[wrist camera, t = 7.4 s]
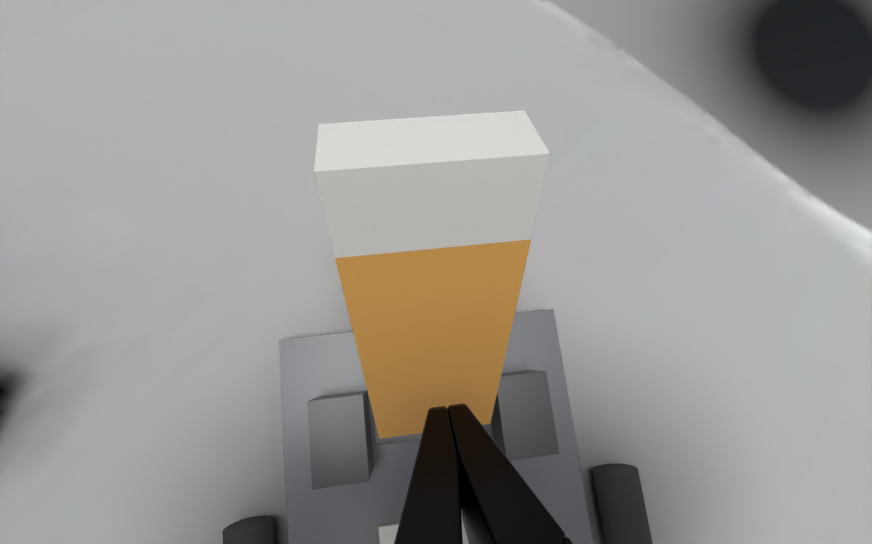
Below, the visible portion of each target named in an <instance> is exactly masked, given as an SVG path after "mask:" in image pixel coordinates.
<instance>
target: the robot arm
mask: <svg viewBox="0 0 872 544" xmlns="http://www.w3.org/2000/svg"><path fill="white" fill-rule="evenodd" d="M461 516H462V519H461ZM462 520H463V523H464V527H465V531H466V535H467V538H468V542H469V544H573V542H572V541H571V540H570V538H569V537H566V538H565V536H566V534H565V532H564V531H563V530H562V528H561V527H560V526H559V524H558V523H557V522H556V520H555V519H554V518H553V517H552V515H551V514H550V513H549V511H548V510H547V509H546V507H545V506H544V505H543V504H542V502H541V501H540V500H539V498H538V497H537V496H536V494H535V493H534V492H533V491H532V489H531V488H530V487H529V485H528V484H527V483H526V481H525V480H524V479H523V478H522V476H521V475H520V474H519V472H518V471H517V470H516V468H515V467H514V466H513V465H512V463H511V462H510V461H509V459H508V458H507V457H506V455H505V454H504V453H503V452H502V450H501V449H500V448H499V446H498V445H497V444H496V442H495V441H494V440H493V439H492V437H491V436H490V435H489V433H488V432H487V431H486V429H485V428H484V427H483V425H482V424H481V423H480V422H479V420H478V419H477V418H476V416H475V415H474V414H473V412H472V411H471V410H470V409H469V407H468V406H467V405H466V404H463V403H462V404H454V405H449V406H448V408H447V407H446V406H439V407H431V408H430V409H429V410H428V413H427V416H426V420H425V424H424V428H423V432H422V436H421V440H420V444H419V448H418V452H417V456H416V460H415V463H414V467H413V471H412V475H411V479H410V483H409V487H408V491H407V495H406V499H405V503H404V506H403V510H402V514H401V518H400V522H399V526H398V530H397V534H396V538H395V542H394V544H463V539H462Z"/></svg>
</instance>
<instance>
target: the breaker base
mask: <svg viewBox="0 0 872 544" xmlns="http://www.w3.org/2000/svg"><path fill="white" fill-rule="evenodd" d="M279 345H280V367H281V390H282V412H283V434H284V457H285V479H286V502H287V524H288V544H394V542H395V538H396V534H397V530H398V526H399V522H400V518H401V514H402V510H403V506H404V503H405V499H406V495H407V491H408V487H409V483H410V479H411V475H412V471H413V467H414V463H415V460H416V456H417V452H418V448H419V444H420V440H421V439H420V440H412V441H405V442H398V443H391V444H383V445H377V444H376V437H375V419H374V415H373V411H372V407H371V403H370V399H369V395H368V391H367V387H366V383H365V378H364V374H363V370H362V366H361V362H360V358H359V354H358V350H357V346H356V342H355V337H354V333H353V332H346V333H337V334H328V335H319V336H310V337H301V338H292V339H283V340H279ZM486 431H487V432H488V433H489V435H490V436H491V437H492V439H493V440H494V441H495V442H496V444H497V445H498V446H499V448H500V449H501V450H502V452H503V453H504V454H505V455H506V457H507V458H508V459H509V461H510V462H511V463H512V465H513V466H514V467H515V468H516V470H517V471H518V472H519V474H520V475H521V476H522V478H523V479H524V480H525V481H526V483H527V484H528V485H529V487H530V488H531V489H532V491H533V492H534V493H535V494H536V496H537V497H538V498H539V500H540V501H541V502H542V504H543V505H544V506H545V507H546V509H547V510H548V511H549V513H550V514H551V515H552V517H553V518H554V519H555V520H556V522H557V523H558V524H559V526H560V527H561V528H562V530H563V531H564V532H565V534H566V536H565V538H566V537H569V538H570V540H571V541H572V542H573V544H593V538H592V533H591V527H590V521H589V515H588V509H587V503H586V498H585V492H584V486H583V480H582V474H581V469H580V463H579V457H578V451H577V445H576V439H575V434H574V428H573V422H572V416H571V410H570V405H569V399H568V393H567V387H566V381H565V375H564V370H563V364H562V358H561V352H560V346H559V340H558V335H557V329H556V323H555V317H554V311H553V309H551V310H542V311H533V312H524V313H515V314H514V319H513V323H512V328H511V332H510V337H509V341H508V346H507V350H506V355H505V360H504V364H503V369H502V373H501V378H500V382H499V387H498V391H497V396H496V400H495V405H494V409H493V414H492V418H491V429H490V430H486ZM461 519H462V516H461ZM462 539H463V544H469V542H468V538H467V535H466V531H465V527H464V523H463V520H462Z"/></svg>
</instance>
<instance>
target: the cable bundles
mask: <svg viewBox="0 0 872 544" xmlns="http://www.w3.org/2000/svg"><path fill="white" fill-rule="evenodd" d="M592 471H593V477H594V482H595V488H596V494H597V499H598V505H599V511H600V516H601V522H602V528H603V533H604V539H605V544H652V539H651V534H650V529H649V524H648V519H647V514H646V509H645V503H644V498H643V493H642V488H641V483H640V478H639V473H638V469H637V468H636V467H634V466H631V465H626V464H606V465H601V466H597V467H595V468H594V469H593V470H592ZM223 544H274V524H273V518H272V517H270V516H258V517H252V518H248V519H244V520H241V521H238V522H235V523H233V524H231V525H229V526H228V527H226V528H225V529H224V530H223Z"/></svg>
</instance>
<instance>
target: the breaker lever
mask: <svg viewBox="0 0 872 544" xmlns="http://www.w3.org/2000/svg"><path fill="white" fill-rule="evenodd" d="M549 156H550V153H549V151H548V150H547V148H546V146H545V145H544V143H543V141H542V140H541V138H540V136H539V135H538V133H537V131H536V129H535V128H534V126H533V124H532V123H531V121H530V119H529V118H528V116H527V114H526V113H525V111H509V112H494V113H479V114H464V115H449V116H434V117H419V118H403V119H388V120H373V121H358V122H343V123H328V124H319V128H318V138H317V148H316V158H315V167H314V173H315V178H316V182H317V186H318V190H319V194H320V198H321V202H322V206H323V210H324V214H325V219H326V223H327V227H328V231H329V235H330V239H331V243H332V247H333V251H334V255H335V260H336V264H337V268H338V272H339V276H340V280H341V284H342V288H343V292H344V296H345V301H346V305H347V309H348V313H349V317H350V321H351V325H352V329H353V333H354V337H355V342H356V346H357V350H358V354H359V358H360V362H361V366H362V370H363V374H364V378H365V383H366V387H367V391H368V395H369V399H370V403H371V407H372V411H373V415H374V419H375V437H376V444H377V445H383V444H391V443H398V442H405V441H412V440H420V439H421V436H422V432H423V428H424V424H425V420H426V416H427V413H428V410H429V409H430V408H431V407H439V406H446V407H447V408H448V406H449V405H454V404H462V403H463V404H466V405H467V406H468V407H469V409H470V410H471V411H472V412H473V414H474V415H475V416H476V418H477V419H478V420H479V422H480V423H481V424H482V425H483V427H484V428H485V429H486V430H490V429H491V418H492V414H493V409H494V405H495V400H496V396H497V391H498V387H499V382H500V378H501V373H502V369H503V364H504V360H505V355H506V350H507V346H508V341H509V337H510V332H511V328H512V323H513V319H514V314H515V310H516V305H517V301H518V296H519V292H520V287H521V283H522V278H523V273H524V269H525V264H526V260H527V255H528V251H529V246H530V242H531V237H532V233H533V228H534V224H535V219H536V215H537V210H538V205H539V201H540V196H541V192H542V187H543V183H544V178H545V174H546V169H547V165H548V160H549Z"/></svg>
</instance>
